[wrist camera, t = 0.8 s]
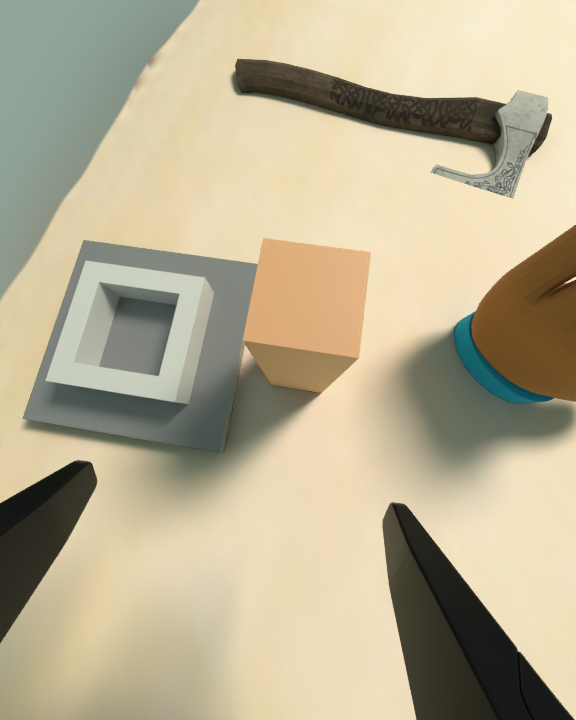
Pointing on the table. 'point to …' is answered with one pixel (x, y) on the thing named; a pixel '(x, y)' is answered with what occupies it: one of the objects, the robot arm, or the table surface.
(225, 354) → the housing
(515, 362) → the toy
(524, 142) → the axe
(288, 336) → the tan square peg
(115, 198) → the table surface
